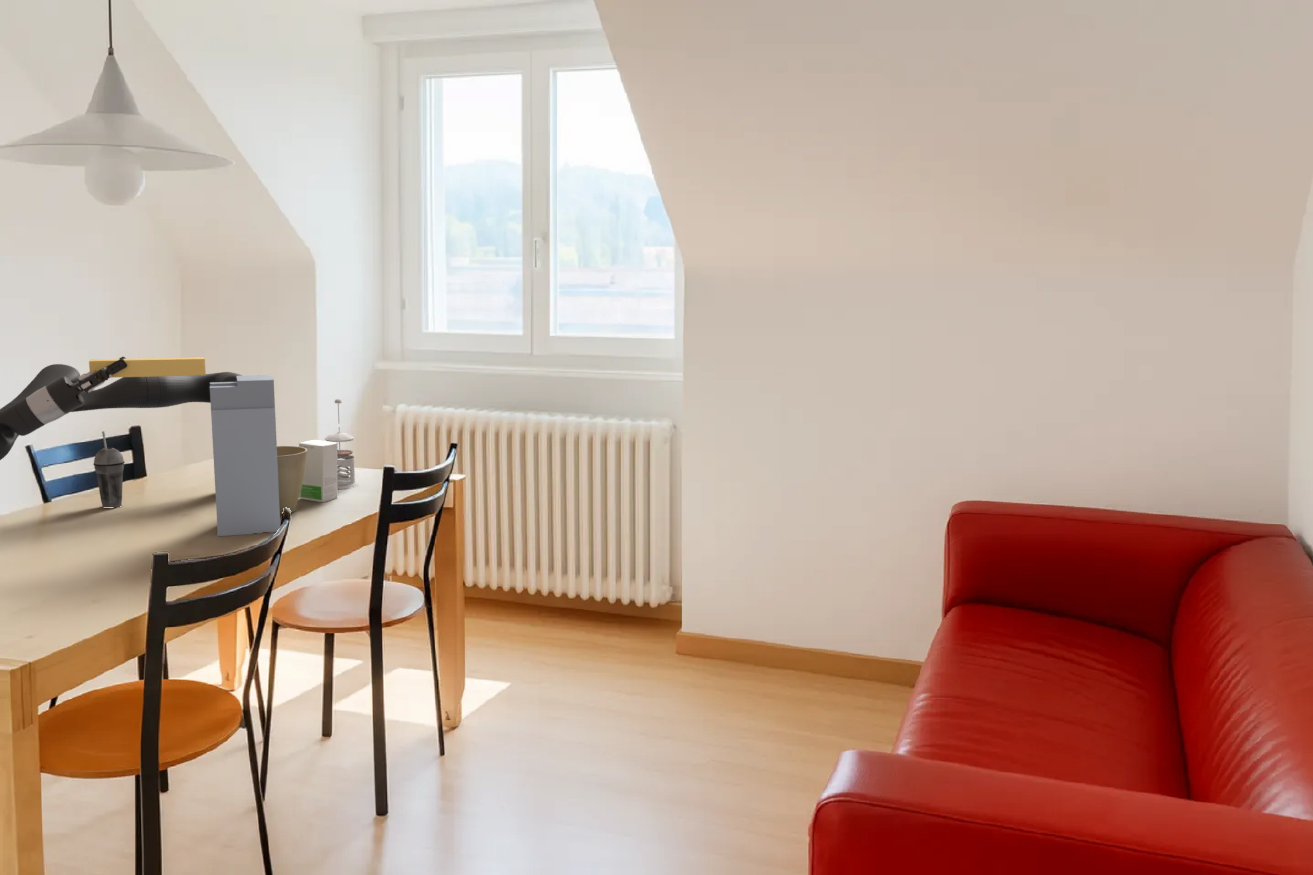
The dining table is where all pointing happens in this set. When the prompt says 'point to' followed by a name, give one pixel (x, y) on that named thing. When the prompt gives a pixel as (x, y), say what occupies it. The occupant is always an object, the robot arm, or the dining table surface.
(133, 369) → the bar
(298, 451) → the plant pot
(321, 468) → the skincare box
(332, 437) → the french press
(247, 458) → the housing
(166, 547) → the dining table surface
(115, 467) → the beverage cup
